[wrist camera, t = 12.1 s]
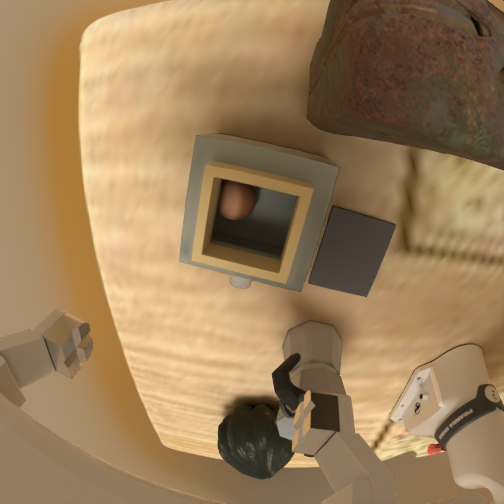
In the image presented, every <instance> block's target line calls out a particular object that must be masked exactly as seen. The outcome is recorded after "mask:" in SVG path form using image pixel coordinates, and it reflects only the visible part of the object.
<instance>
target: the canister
mask: <svg viewBox="0 0 504 504" xmlns="http://www.w3.org/2000/svg"><path fill="white" fill-rule="evenodd" d="M309 94H310V95H311V96H310V98H309V105H308V115H307V119H308V120H309V121H310V122H311V123H312V124H313V125H315V126H316V127H317V128H319V129H320V130H323V131H326V132H330V133H333V134H340V135H347V136H354V137H361V138H367V139H373V140H379V141H385V142H390V143H395V144H400V145H405V146H411V147H416V148H421V149H427V150H432V151H436V152H440V153H444V154H446V153H447V154H452V155H456V156H459V157H463V158H466V159H470V160H473V161H476V162H480V163H483V164H486V165H489V166H492V167H495V168H498V169H501V170H504V12H502V11H501V10H499V9H498V8H496V7H495V6H494V5H493V4H491V3H490V2H489V1H488V0H330V3H329V7H328V11H327V15H326V20H325V24H324V28H323V32H322V36H321V38H320V39H319V41H318V43H317V45H316V48H315V51H314V55H313V58H312V61H311V64H310V91H309Z"/></svg>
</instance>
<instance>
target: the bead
mask: <svg viewBox="0 0 504 504" xmlns="http://www.w3.org/2000/svg"><path fill="white" fill-rule="evenodd" d="M256 201H257V196H256V192H255V189H254V187H253V186H252V185H250V184H245V183H241V182H236V181H232V180H227V179H226V180H224V181H222V182H221V187H220V193H219V199H218V204H217V211H218V212H219V213H220V214H221V215H222V216H223V217H225V218H227V219H230V220H240V219H243V218H245V217H247V216H248V215H250V214H251V213H252V211H253V210H254V208H255V206H256Z"/></svg>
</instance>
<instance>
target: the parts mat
mask: <svg viewBox="0 0 504 504" xmlns="http://www.w3.org/2000/svg"><path fill="white" fill-rule="evenodd" d="M395 227H396V225H395V224H392V223H389V222H386V221H383V220H379V219H376V218H373V217H370V216H366V215H363V214H360V213H356V212H353V211H349V210H346V209H343V208H339V207H335V206H333V207H332V210H331V213H330V217H329V220H328V223H327V226H326V230H325V233H324V236H323V239H322V242H321V245H320V248H319V251H318V254H317V257H316V260H315V263H314V266H313V269H312V272H311V275H310V278H309V281H308V284H312V285H317V286H321V287H325V288H329V289H334V290H338V291H342V292H347V293H351V294H355V295H360V296H364V297H367V295H368V293H369V291H370V288H371V286H372V284H373V282H374V279H375V277H376V275H377V272H378V270H379V268H380V265H381V263H382V260H383V258H384V256H385V253H386V251H387V248H388V245H389V243H390V240H391V238H392V235H393V232H394V230H395Z"/></svg>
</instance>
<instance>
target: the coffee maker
mask: <svg viewBox="0 0 504 504" xmlns="http://www.w3.org/2000/svg"><path fill="white" fill-rule="evenodd" d="M282 347H283V354H284V360H285V361H284V362H283V363H282V364H281V365H280V366H279V367H278V368H277V369H276V370H275V371H274V372H273V373H272V378H273V384H274V390H275V393H276V395H277V396H278V398H279V399H280V401H279V402H278V403H279V406H280V408H279V412H278V416H277V419H276V423H277V427H278V431H279V435H280V436H281V437H284V438H287V439H289V440H293V436H294V434H295V433H296V429H295V428H294V418H295V413H296V410H297V408H298V406H299V404H300V403H301V402H303V401H304V395H305V394H306V392H307V391H308V390H314V391H321V392H328V393H335V394H341V395H346V392H345V389H344V386H343V382H342V379H341V376H339V375H340V366H341V352H342V339H341V338H340V336H339V334H338V333H337V331H336V329H335V328H334V326H333V325H330V324H325V323H320V322H315V321H311V320H310V321H308V322H305V323H303V324H301V325H299V326H296V327H294V328H292V329H289V330H288V333H287V336H286V338H285V341H284V344H283V346H282ZM304 456H307V457H314V456H315V455H310V454H304Z"/></svg>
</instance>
